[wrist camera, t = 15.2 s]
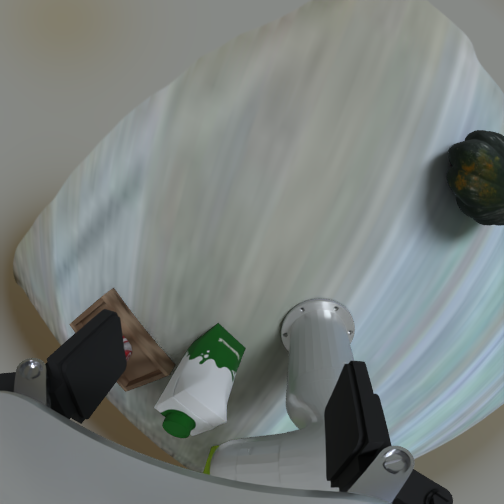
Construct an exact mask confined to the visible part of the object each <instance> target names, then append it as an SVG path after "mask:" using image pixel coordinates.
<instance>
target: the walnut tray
mask: <svg viewBox="0 0 504 504" xmlns="http://www.w3.org/2000/svg"><path fill="white" fill-rule="evenodd" d="M103 309H107V310H110V311H114V312H116V313H117V314H118V317H120V319H121V327H122V335H123V336H124V337H125V338H126V339H127V340H128V342H129V343H130V345H131V347H132V354H131V356H130V358H129V359H128V361H127V367H126V370H125V371H124V373H123V374H122V375H121V376H120V378H119V379H118V380H117V383H118V384H119V385H120V386H121V387H122V388H123V389H124V391H125V392H126V391H129V390H131V389H134V388H137V387H140V386H142V385H145V384H148V383H150V382H153V381H156V380H158V379H161V378H163V377H166V376H169V375H170V373H171V371H172V370H173V368H174V366H175V364H174V363H173V362H172V360H171V359H170V358H169V357H168V356H167V355H166V354H165V352H164V351H163V350H162V349H161V348H160V347H159V345H158V344H157V343H156V342H155V341H154V340H153V338H152V337H151V336H150V335H149V333H148V332H147V331H146V330H145V329H144V327H143V326H142V325H141V324H140V322H139V321H138V320H137V318H136V317H135V316H134V315H133V313H132V312H131V311H130V309H129V308H128V307H127V305H126V304H125V303H124V301H123V300H122V299H121V297H120V296H119V294H118V293H117V292H116V290H115V289H114V288H113V289H111V290H110V291H109V292H107V293H106V294H105V295H103V296H102V297H101V298H100V299H98V300H97V301H96V302H95V303H94V304H93V305H91V306H90V307H89V308H88V309H87V310H86V311H84V312H83V313H82V314H81V315H80V316H79V317H77V318H76V319H75V320H74V321H73V322H72V323H71V324H70V326H71V327H72V329H73V330H74V331H75V333H76V332H77V331H79V330H80V329H81V328H82V327H83V326H84V325H85V324H87V323H88V322H89V321H90V320H91V319H92V318H94V317H95V316H96V315H97V314H98V313H100V312H101V311H102V310H103Z"/></svg>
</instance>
